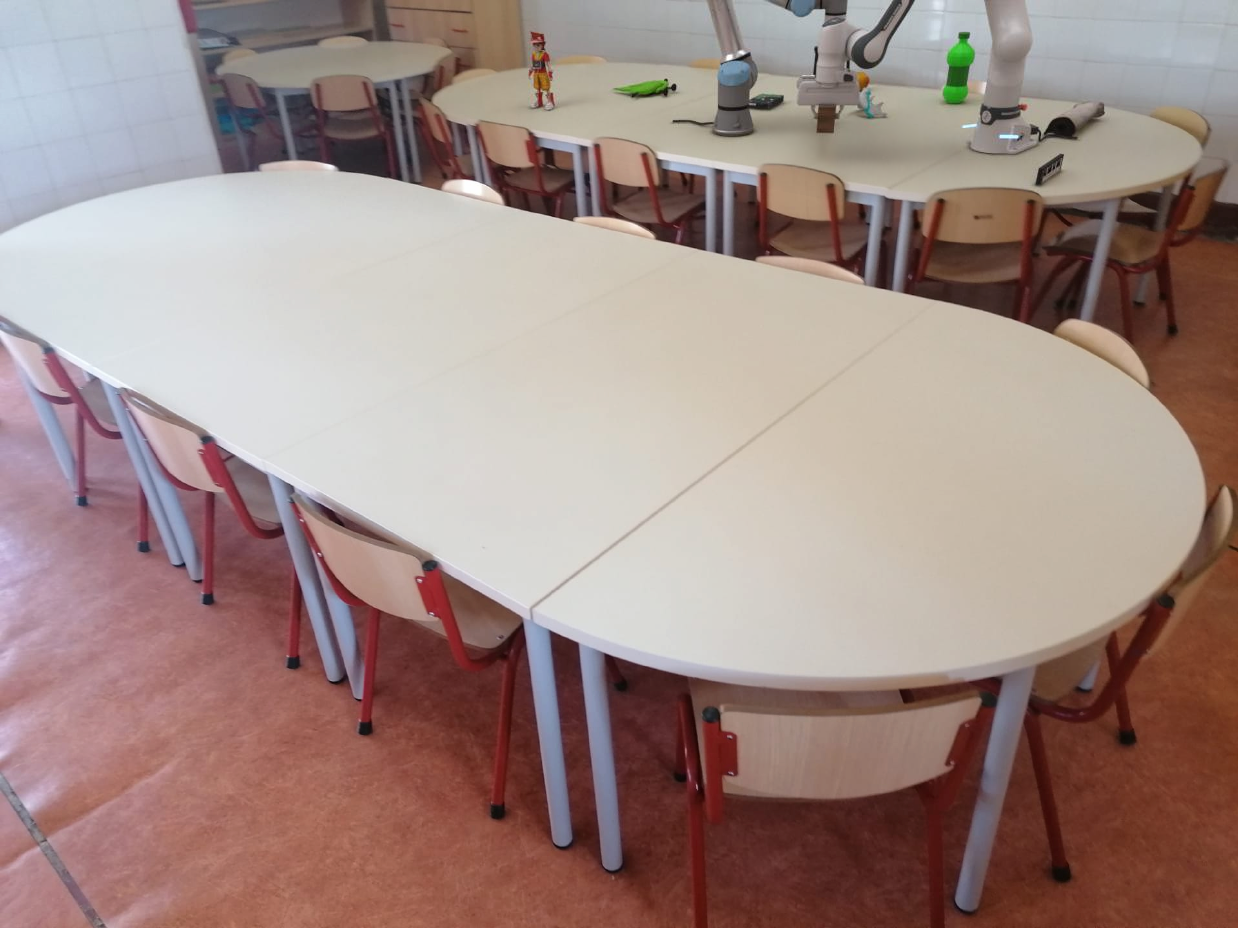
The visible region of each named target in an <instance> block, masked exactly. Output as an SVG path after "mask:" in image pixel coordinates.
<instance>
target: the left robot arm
mask: <svg viewBox="0 0 1238 928" xmlns="http://www.w3.org/2000/svg"><path fill="white" fill-rule="evenodd" d="M764 1H765V2H768V3H770V4H772V5H774V6H778V7H779V8H782V9H785V10H787V11H789V12H790V13H792V14H793V15H794V16H795V17H796V18H804V17H807V16H809V15H811V13H812V12H813V11H815V10H824V20H823V21H824V22H823V24H824V23H825V22H826V21H828V20H831V19H835V18H844V19H845V20H846V21H847V11H848V3H849V2H848V1H849V0H764ZM706 3H707V6H708V10H709V13H710V17H711V20H712V23H713V27H714V30H715V35H716V38H717V41H718V45H719V48H720V52H721V59H720V60H719V64H720V66H719V67H718V70H717V111H716V114H715V118H714V120H713V121H707V122H700V121H696V120H694V119H693V120H692V119H672V123H692V124H695V125H699V126H709V125H712V133H713V134H715V135H717V136H721V137H741V136H746V135H750V134H752V133H754V127H755V126H754V122H753V118H752V115H751V111H750V108H749V100H750V94H751V93H750V91H751V90H752V89H753V88H754V86H755V85H756V83H757V80H758V77H759V76H758V75H759V70H758V66H757V64H756V62H755V61H754V60H753V57H752V53H751V50H750V49H748V48H746V47H745V43H744V40H743V36H742V33H741V29H740V25H739V22H738V18H737V14H736V10H735V6H734V3H733V0H706ZM813 50H814V61H813V72H812V75H816V68H817V62H818V57H819V56H818V45H814V47H813ZM845 65H846V66H845V68H847V69H850V68H851V60H848V61H846V62H845ZM850 70H851V69H850Z"/></svg>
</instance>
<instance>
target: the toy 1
mask: <svg viewBox="0 0 1238 928" xmlns="http://www.w3.org/2000/svg"><path fill="white" fill-rule="evenodd" d="M529 33H530V35H531V36H528V37H527V38H528V39H529V40H528V41H527V43H529V44H530V43H531V44H532V48H533V50H534V51H533V52H532V55H531V58H530V59H531V63H530V66H528V74H527V75H528V76H527V77H528V79H529V80H531V75H532V74H533V84H532V85H533V86H532V87H533V88H534V89H535V90H536V92H534V95H535V97H536V100H535V101H533V102H531V105H530V108H531V109H535V108H538V107H542V106H544V101H543V100H544V99H543V95H544V92H546V94H545V97H546V99H547V103H546V104H545V106H544V110H546V111H549V110H553V109H554V107H555V106H556V105H555V99H554V92H551V91H550V90H551V86H552V84H551V82H552V81H553V80H554V77H553V73H554V71H555V70H554V69H552V68H551V63H550V61H551V59H550V58H551V57H550V54H549V53H548V52H547V50H546V48H545V46H546V44H547V41H545V35H544V33H543V32H542V33H539V32H535V31H529Z"/></svg>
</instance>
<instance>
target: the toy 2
mask: <svg viewBox="0 0 1238 928" xmlns="http://www.w3.org/2000/svg"><path fill="white" fill-rule="evenodd" d="M669 85H670V83H669V79H668V78H664V79H663V80H649V81H644V82H640V83H634V84H629V85H627V86H621V87H613V88H612V89H613V90H616V91H619V92H623V93H627V94H628V93H629V94H631V95H630V96H631V98H632V99H634V98H636V96H637V95H650V94H652V93H654V94H658V93H662V95H663V96H665V97H667V96H668V95H669V90H671V91H672V92H676V91H677V84H676V83H672V84H671V86H669Z"/></svg>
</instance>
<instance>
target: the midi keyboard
mask: <svg viewBox="0 0 1238 928" xmlns="http://www.w3.org/2000/svg"><path fill="white" fill-rule="evenodd" d="M1064 157H1065V153H1059V154H1058V155H1056V156H1055V157H1052V159H1051V160H1049V161H1047V162H1045V164H1042V165H1041V166H1039V167H1038V169H1037V175H1036V179H1035V186H1040V185H1042V183H1044V182H1045V181H1047V180H1048V179H1049V178H1051V177H1052V176H1054V175H1055V174H1056V173H1058V172H1060V171H1061V170H1062V165H1063V161H1064Z"/></svg>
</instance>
